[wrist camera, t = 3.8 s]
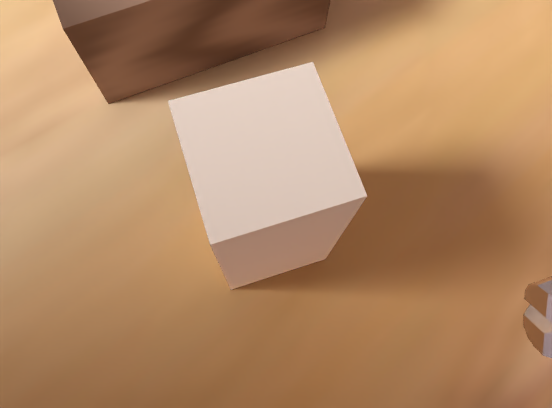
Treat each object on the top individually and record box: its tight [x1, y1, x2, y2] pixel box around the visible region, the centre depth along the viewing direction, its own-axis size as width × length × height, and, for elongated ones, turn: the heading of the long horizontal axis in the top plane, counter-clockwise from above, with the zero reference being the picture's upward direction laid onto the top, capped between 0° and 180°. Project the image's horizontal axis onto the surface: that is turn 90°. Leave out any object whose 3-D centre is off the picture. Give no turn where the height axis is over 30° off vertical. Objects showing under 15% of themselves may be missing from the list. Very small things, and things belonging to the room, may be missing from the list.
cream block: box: [168, 62, 367, 290], centre depth 18 cm, size 4×4×9 cm
